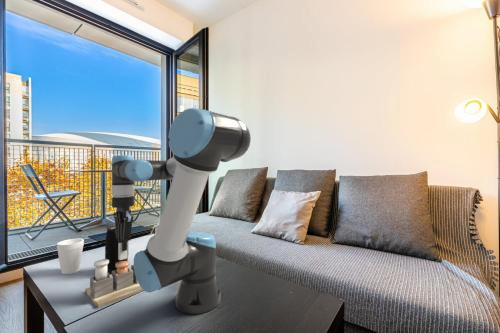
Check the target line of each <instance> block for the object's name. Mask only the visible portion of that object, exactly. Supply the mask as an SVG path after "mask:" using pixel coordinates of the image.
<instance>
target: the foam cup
mask: <svg viewBox="0 0 500 333" xmlns="http://www.w3.org/2000/svg"><path fill="white" fill-rule="evenodd" d="M84 245H85V239H84V238H79V237H78V238H69V239H65V240H61V241H59V242H57V243H56V250H57V255H58V261H59V266H60V272H61V275H71V274H74V273H77V272H79V271H80V267H81V263H82V262H81V261H82V256H83V249H84Z"/></svg>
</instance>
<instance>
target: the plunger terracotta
mask: <svg viewBox="0 0 500 333" xmlns="http://www.w3.org/2000/svg"><path fill="white" fill-rule="evenodd" d="M129 266H130V261H129V260H128V261H121V262H118V263H116V268H117V274H118V275H119V274H122V273H126V272H128V267H129Z"/></svg>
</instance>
